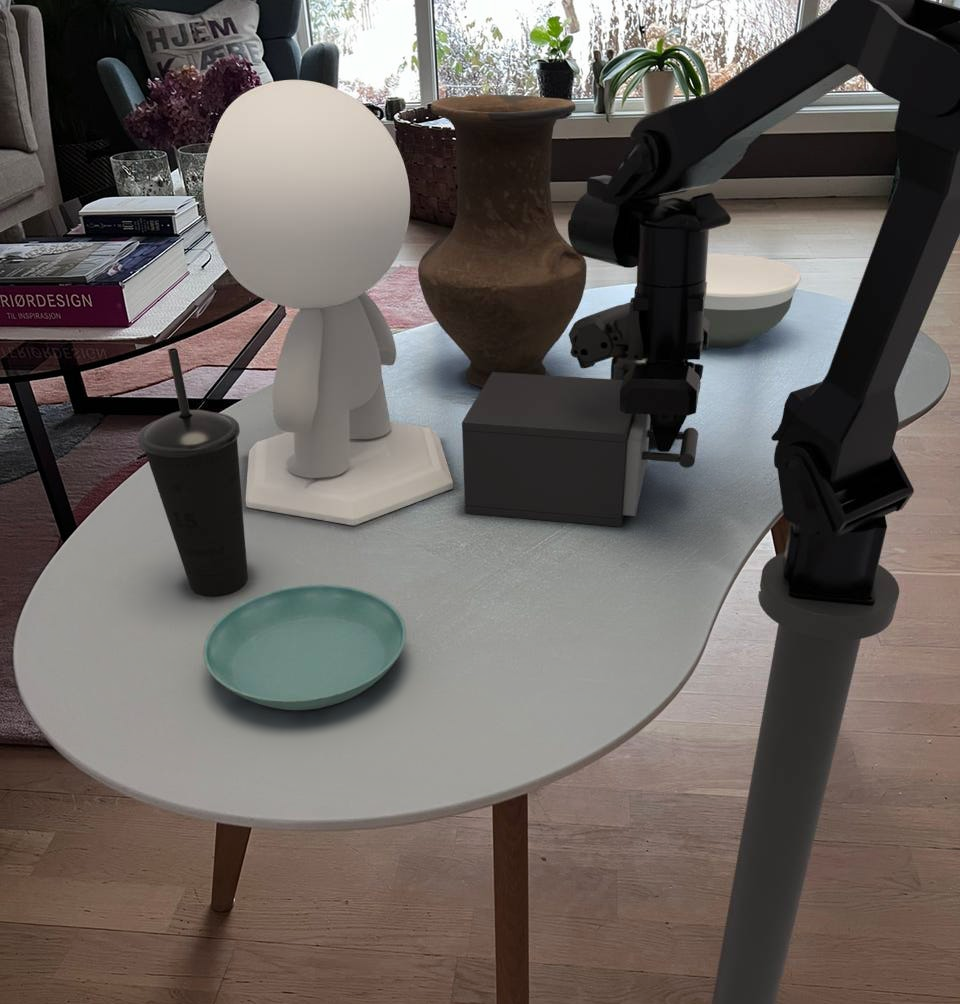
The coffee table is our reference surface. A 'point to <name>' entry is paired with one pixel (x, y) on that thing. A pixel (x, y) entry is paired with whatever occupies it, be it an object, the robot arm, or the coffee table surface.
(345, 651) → the saucer
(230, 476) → the drinking cup
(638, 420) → the drawer
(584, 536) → the coffee table surface
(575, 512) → the drawer cabinet
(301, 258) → the white cartoon figure
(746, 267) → the bowl
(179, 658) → the coffee table surface
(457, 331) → the vase
